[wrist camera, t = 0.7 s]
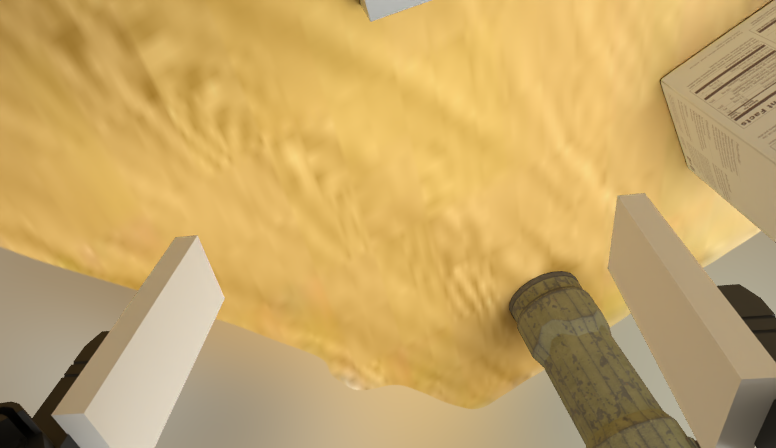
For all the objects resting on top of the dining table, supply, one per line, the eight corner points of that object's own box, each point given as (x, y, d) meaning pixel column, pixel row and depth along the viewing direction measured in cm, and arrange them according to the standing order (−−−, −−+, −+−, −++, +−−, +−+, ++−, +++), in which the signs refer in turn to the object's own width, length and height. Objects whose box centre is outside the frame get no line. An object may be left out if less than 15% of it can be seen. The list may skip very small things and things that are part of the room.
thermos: (484, 314, 58) (682, 724, 33) (566, 252, 54) (862, 669, 29) (522, 334, 63) (717, 699, 39) (599, 279, 59) (873, 650, 34)
